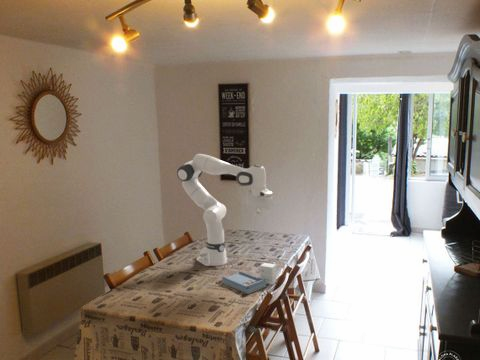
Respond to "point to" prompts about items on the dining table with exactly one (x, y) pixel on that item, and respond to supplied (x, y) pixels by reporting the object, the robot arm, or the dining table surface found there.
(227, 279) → the blue tray
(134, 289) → the dining table surface
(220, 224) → the robot arm
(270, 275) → the small box
